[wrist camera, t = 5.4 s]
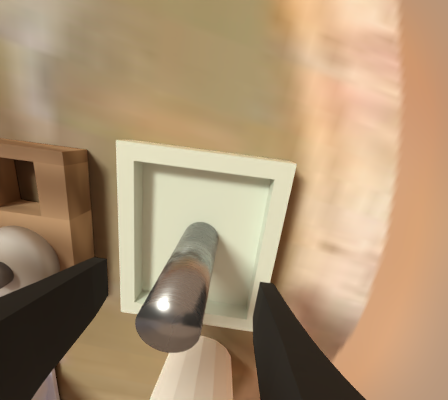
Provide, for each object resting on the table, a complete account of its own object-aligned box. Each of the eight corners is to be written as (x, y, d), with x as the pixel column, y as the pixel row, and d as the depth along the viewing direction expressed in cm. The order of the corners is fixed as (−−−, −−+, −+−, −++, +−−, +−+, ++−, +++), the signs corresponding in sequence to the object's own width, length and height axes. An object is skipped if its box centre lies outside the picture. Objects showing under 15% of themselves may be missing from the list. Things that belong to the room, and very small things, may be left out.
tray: (256, 312, 16) (258, 332, 15) (133, 293, 17) (121, 311, 15) (288, 160, 13) (296, 164, 11) (131, 139, 13) (115, 140, 11)
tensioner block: (96, 278, 16) (53, 321, 13) (11, 266, 17) (-57, 304, 13) (87, 149, 14) (27, 154, 10) (-16, 135, 14) (-115, 135, 10)
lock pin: (216, 255, 14) (198, 357, 8) (183, 251, 15) (136, 348, 8) (219, 224, 14) (202, 305, 7) (184, 220, 14) (134, 296, 7)
